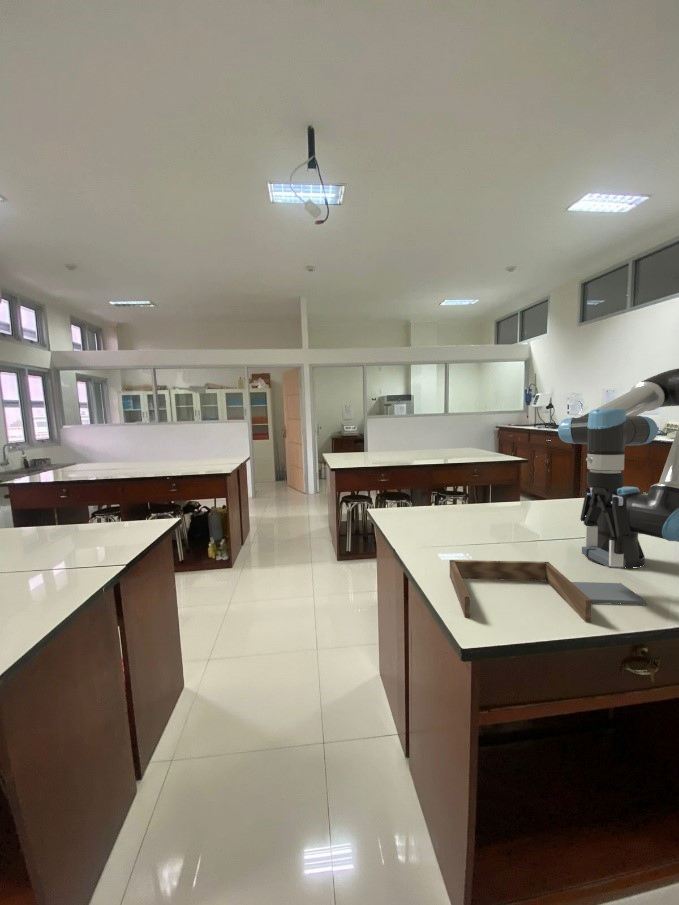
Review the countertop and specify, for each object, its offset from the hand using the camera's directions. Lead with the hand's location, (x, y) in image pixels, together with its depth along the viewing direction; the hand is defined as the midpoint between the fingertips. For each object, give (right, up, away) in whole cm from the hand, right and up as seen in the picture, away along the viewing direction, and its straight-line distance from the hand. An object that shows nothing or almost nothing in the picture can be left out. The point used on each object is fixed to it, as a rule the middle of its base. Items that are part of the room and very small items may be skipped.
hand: (602, 557), depth 93 cm
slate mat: (+1, -10, +1) cm, 10 cm away
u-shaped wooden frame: (-23, -10, +2) cm, 25 cm away
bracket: (0, -1, 0) cm, 1 cm away
